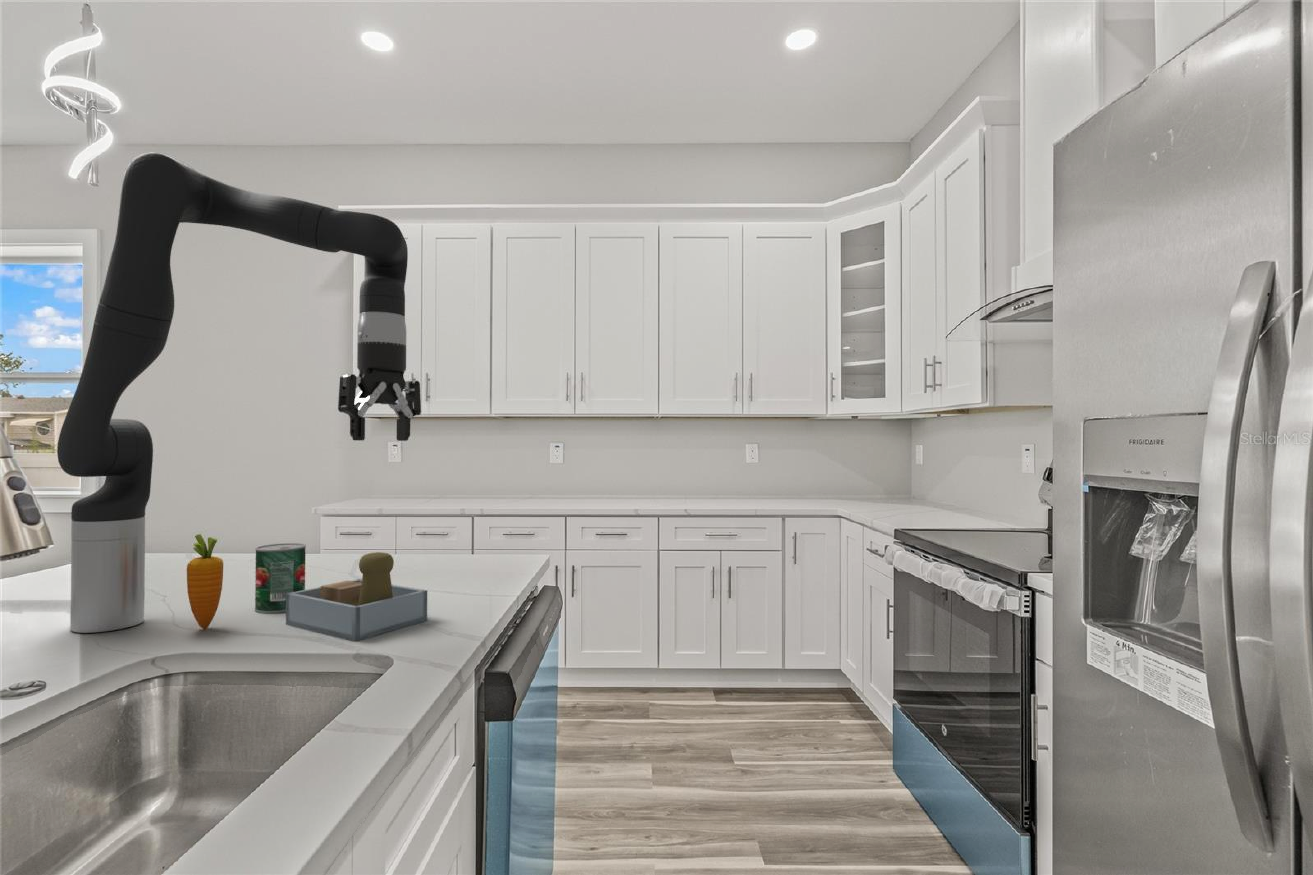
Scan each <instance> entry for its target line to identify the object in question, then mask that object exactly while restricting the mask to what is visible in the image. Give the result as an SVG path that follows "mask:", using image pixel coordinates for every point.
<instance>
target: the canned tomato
mask: <svg viewBox="0 0 1313 875" xmlns="http://www.w3.org/2000/svg"><path fill="white" fill-rule="evenodd" d="M306 547H307V545H306V544H304V543H300V542H299V543H296V542H294V543H293V542H292V543H290V542H287V543H272V544H265V545H260V546H257V547H255V568H254V569H255V572H254V573H255V576H254V577H255V584H254V586H255V589H254V595H255V596H254V601H255V602H254V605H255V606H254V607H255V608H254V611H255V612H256V613H259V612H260V614H280V613H281V614H282V613H286V594H287V593H292V592H297V591H302V590H306Z"/></svg>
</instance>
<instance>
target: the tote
mask: <svg viewBox="0 0 1313 875" xmlns="http://www.w3.org/2000/svg"><path fill="white" fill-rule="evenodd" d="M351 581H353V582H359V583H362V579H361V578H358V579H357V578H356V579H352V580H351ZM391 585H392V593H393V598H389V599H385V600H380V601H376V602H372V603H368V604H364V605H360V606H353V605H349V604H344V603H339V602H334V601H329V600H324V599H321V586H318V587H313V588H308V589H305V590H302V591H297V592H292V593H287V594H286V612H285V625H287V624H288V625H287V626H291V627H294V628H295V627H296V628H299V627H300V629H303V628H304V629H303V630H307V631H312V632H315V633H319V634H323V635H328V636H332V637H335V638H336V637H337V638H341V639H344V640H348V641H352V642H357V641H360V640H361V641H362V640H364V639H368V638H371V637H375V636H379V635H382V634H385V633H389V632H392V631H395V630H398V629H399V630H400V629H403V628H407V627H409V626H410V627H411V626H413V625H416V624H420V623H423V622H427V621H428V590H427V589H426V590H425V589H420V588H414V587H408V586H402V585H397V584H392V583H391Z"/></svg>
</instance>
